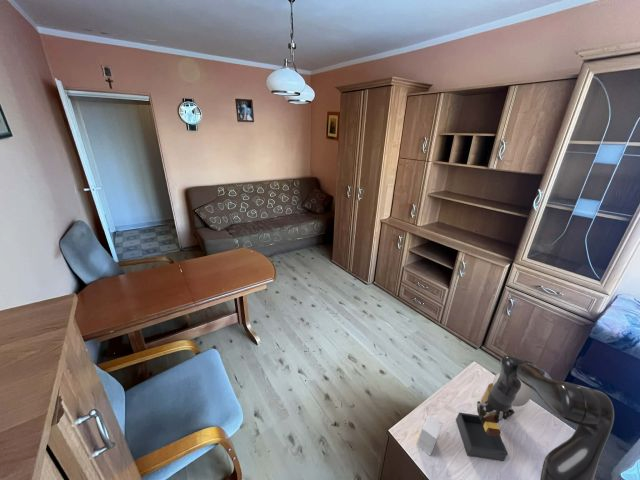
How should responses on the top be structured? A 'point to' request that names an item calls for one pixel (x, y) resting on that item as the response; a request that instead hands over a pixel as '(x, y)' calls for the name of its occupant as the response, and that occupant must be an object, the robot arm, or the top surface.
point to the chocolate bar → (491, 426)
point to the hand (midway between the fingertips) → (488, 421)
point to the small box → (429, 434)
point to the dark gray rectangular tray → (479, 439)
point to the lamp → (521, 396)
